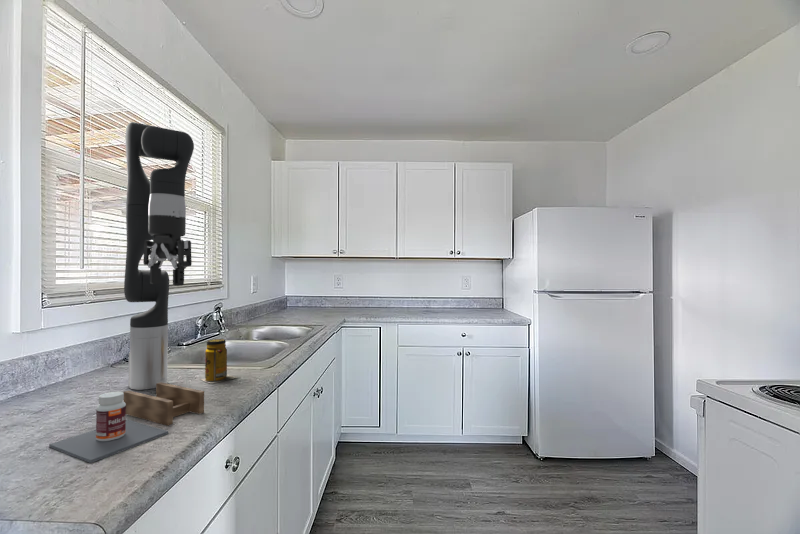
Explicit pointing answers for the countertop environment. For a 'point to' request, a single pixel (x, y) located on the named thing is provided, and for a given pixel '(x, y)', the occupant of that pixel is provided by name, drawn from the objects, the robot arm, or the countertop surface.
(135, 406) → the wooden rack
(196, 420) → the countertop surface
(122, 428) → the pill bottle
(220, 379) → the condiment
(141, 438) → the mat
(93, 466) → the countertop surface
